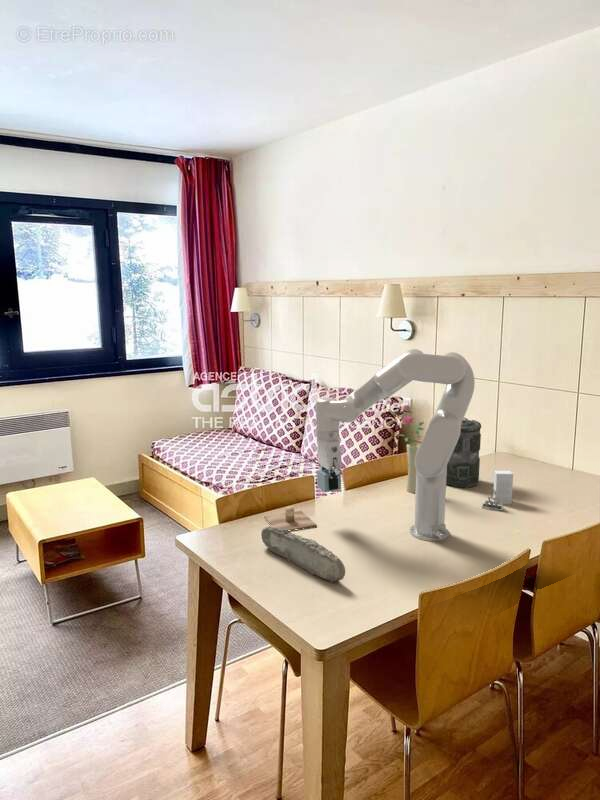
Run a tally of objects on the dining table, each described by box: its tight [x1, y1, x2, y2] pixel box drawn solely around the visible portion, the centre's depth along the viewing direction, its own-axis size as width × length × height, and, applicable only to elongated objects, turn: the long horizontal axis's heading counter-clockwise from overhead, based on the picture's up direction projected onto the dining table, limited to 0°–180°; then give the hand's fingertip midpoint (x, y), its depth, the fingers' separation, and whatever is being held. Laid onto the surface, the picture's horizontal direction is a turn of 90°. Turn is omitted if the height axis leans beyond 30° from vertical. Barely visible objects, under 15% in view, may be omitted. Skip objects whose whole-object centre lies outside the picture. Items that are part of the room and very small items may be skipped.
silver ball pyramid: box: [481, 489, 504, 512], centre depth 214 cm, size 9×9×8 cm
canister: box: [446, 417, 482, 489], centre depth 241 cm, size 16×16×28 cm
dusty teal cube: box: [316, 467, 342, 493], centre depth 197 cm, size 6×6×6 cm
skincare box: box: [492, 470, 514, 505], centre depth 218 cm, size 6×4×12 cm
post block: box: [263, 506, 318, 531], centre depth 200 cm, size 14×14×6 cm
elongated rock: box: [261, 526, 346, 584], centre depth 168 cm, size 35×5×10 cm, turn 43°
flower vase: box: [393, 404, 425, 494], centre depth 228 cm, size 12×12×35 cm
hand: (329, 485), depth 198 cm, fingers closed on dusty teal cube, 6 cm apart
